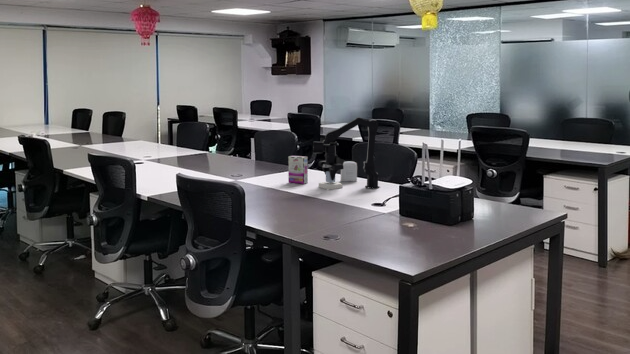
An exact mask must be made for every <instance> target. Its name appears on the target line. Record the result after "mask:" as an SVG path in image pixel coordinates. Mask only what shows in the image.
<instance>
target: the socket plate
mask: <svg viewBox="0 0 630 354" xmlns="http://www.w3.org/2000/svg"><path fill="white" fill-rule="evenodd" d="M318 188H321V189H324V190H327V191H329V190H336V189H338V190H339V189H342V188H343V183H340V182H336V181H335V182H332V183H329V182H326V181H325V182H318Z"/></svg>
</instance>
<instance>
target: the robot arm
mask: <svg viewBox="0 0 630 354" xmlns="http://www.w3.org/2000/svg"><path fill="white" fill-rule="evenodd" d="M358 125H361V126H363V127H367V132H368V140H367V141H368V142H367V153H366V160H365V161H363V167H362V169H363V171H364V173H365V174H366V175H367V178H366V185H365V186H364V187H365V188H367V187H369V188H368V189H371V188H372V189H377V188H376V187H380V186H379V173H378V171H376V169H375V159H374V156H375V145H376V135H377V133H378V128H379V122H378V121H377V120H376V119H373V118H372V119H367V118H362V117H360V116H357V117H356V118H354V119H352V120H351V121H349V122H347V123H345V124H344V125H342V126H340V127H338V128H336V129H332V130H330V131H328V132H326V134H325V138H324V139H323V140H322V141H313V146H312V153H313V154H323V153H324V152H325V154H324V155H323V156H324V157H323V158H325V160H319V161H318V162H317V166H318V167H321V169H322V171H323V172H324V174H325V176H326V171H329V172H330V176H331V180H334V177H335V178H336V174H337V172H338V171H341V169H344V166H343V163H344V162H345V159H343V158H341V157H339V156H338V155H337V154H336V153H337V151H336V149H337V148H336V147H339V143H338V142H337V141H336V140H337V139H339V138H340V136H342V135H343V134H345V133H347V132H348V131H351V130H353V128H355V127H357V126H358ZM329 168H332V169H329Z"/></svg>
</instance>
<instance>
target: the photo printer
mask: <svg viewBox="0 0 630 354" xmlns="http://www.w3.org/2000/svg"><path fill="white" fill-rule="evenodd" d="M343 166H344V169H341V170H340V182H357V180H358V163H357V162H355V161H349V160H347V161H344V163H343Z"/></svg>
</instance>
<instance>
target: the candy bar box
mask: <svg viewBox="0 0 630 354" xmlns="http://www.w3.org/2000/svg"><path fill="white" fill-rule="evenodd" d="M308 158H309V157H308V156H302V155H289V156H288V157H287V159H288V161H287V163H288V165H287V166H288V175H287V176H288V183H289V184H295V185H296V184H297V185H306V184H308V172H309V171H308V170H309V169H308V166H309V165H308Z"/></svg>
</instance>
